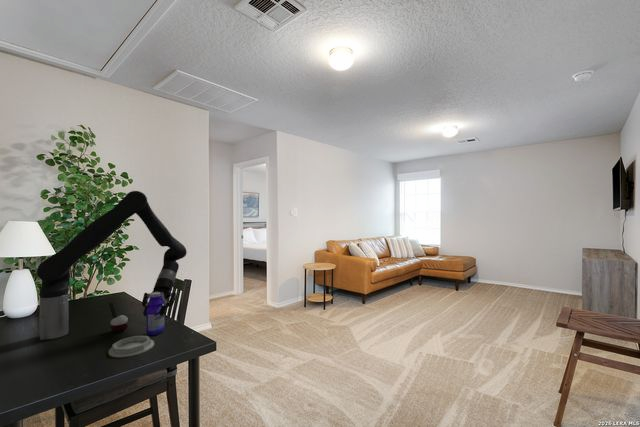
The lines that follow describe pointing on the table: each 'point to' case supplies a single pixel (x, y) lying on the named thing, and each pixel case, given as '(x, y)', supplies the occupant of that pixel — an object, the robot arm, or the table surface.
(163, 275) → the robot arm
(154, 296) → the bottle
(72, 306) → the table surface
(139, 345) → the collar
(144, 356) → the table surface
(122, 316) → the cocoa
